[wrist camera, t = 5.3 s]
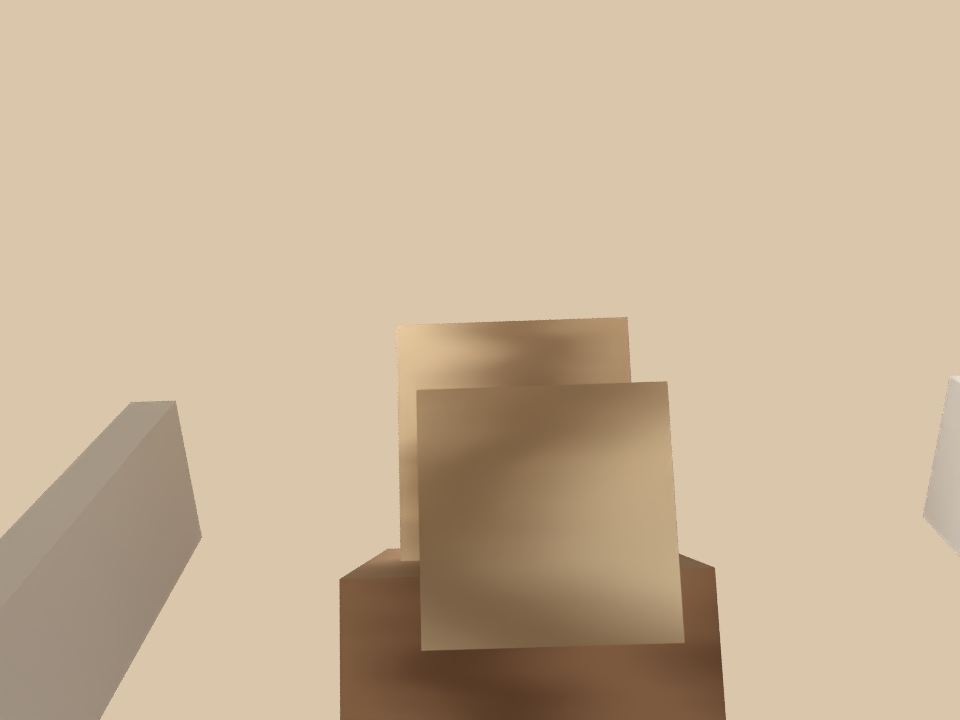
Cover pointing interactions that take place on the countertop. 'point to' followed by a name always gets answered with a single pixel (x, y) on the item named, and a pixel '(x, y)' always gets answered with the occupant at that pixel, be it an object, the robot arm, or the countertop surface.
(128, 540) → the robot arm
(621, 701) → the walnut post
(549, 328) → the tan tall block
